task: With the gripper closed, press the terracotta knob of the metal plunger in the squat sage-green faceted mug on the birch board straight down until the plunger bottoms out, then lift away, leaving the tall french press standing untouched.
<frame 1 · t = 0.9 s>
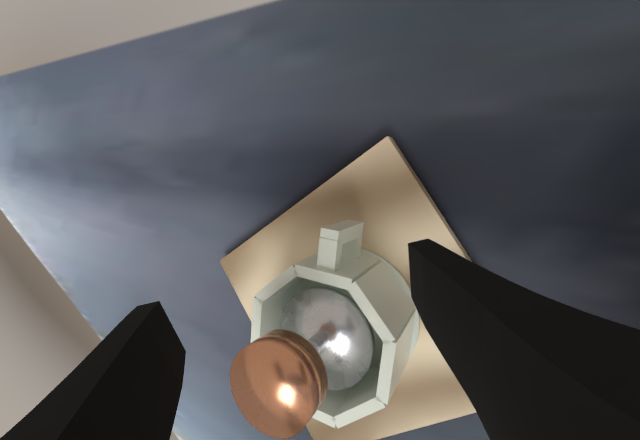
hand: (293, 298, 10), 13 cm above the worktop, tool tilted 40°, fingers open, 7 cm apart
faceted mug: (350, 312, 22), resting on serving board
serving board: (356, 307, 23), on the worktop
plunger: (301, 359, 17), point 7 cm above the worktop, slide at 0.0 cm
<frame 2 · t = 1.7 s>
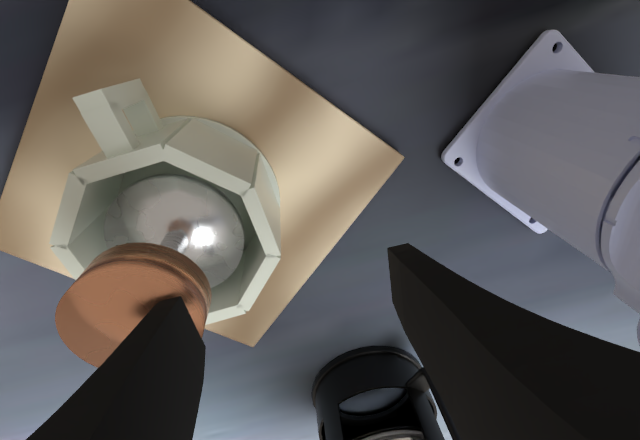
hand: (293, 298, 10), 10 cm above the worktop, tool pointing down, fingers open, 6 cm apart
faceted mug: (196, 200, 18), resting on serving board
serving board: (200, 193, 19), on the worktop
french press: (371, 380, 28), on the worktop
plunger: (160, 272, 13), point 7 cm above the worktop, slide at 0.0 cm
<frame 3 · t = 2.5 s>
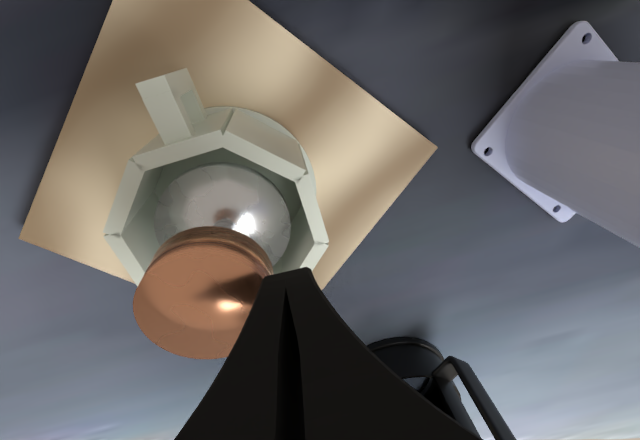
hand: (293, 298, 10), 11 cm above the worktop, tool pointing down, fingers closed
faceted mug: (233, 191, 18), resting on serving board
serving board: (234, 184, 19), on the worktop
french press: (393, 372, 29), on the worktop
plunger: (218, 258, 13), point 7 cm above the worktop, slide at 0.0 cm
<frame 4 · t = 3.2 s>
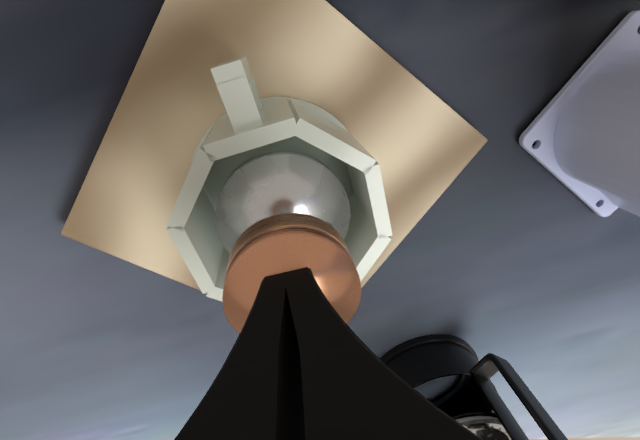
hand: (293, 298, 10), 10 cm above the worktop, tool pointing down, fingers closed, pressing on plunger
faceted mug: (280, 185, 18), resting on serving board
serving board: (279, 178, 19), on the worktop
french press: (424, 370, 28), on the worktop
plunger: (287, 248, 12), point 7 cm above the worktop, slide at 0.2 cm, touching gripper
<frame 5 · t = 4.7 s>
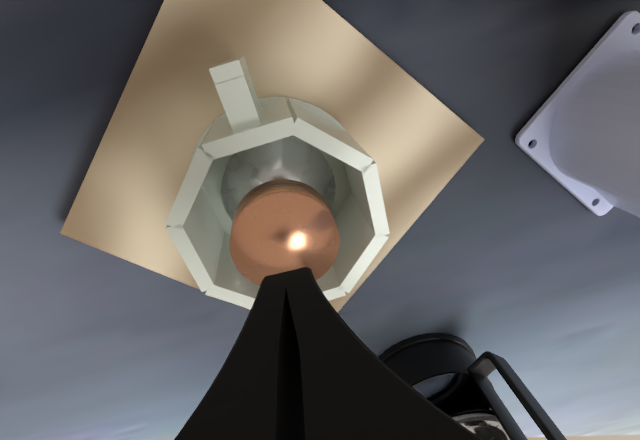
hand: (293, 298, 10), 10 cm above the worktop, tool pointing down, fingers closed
faceted mug: (278, 184, 18), resting on serving board
serving board: (278, 178, 19), on the worktop
french press: (422, 368, 28), on the worktop
plunger: (282, 212, 15), point 4 cm above the worktop, slide at 3.0 cm
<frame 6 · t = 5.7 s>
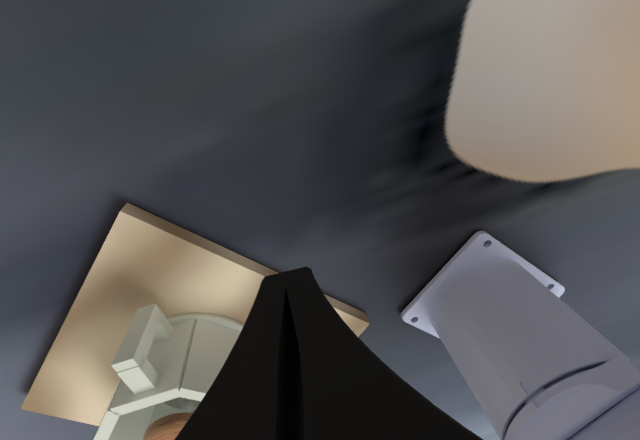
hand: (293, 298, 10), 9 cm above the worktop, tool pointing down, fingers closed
faceted mug: (199, 365, 22), resting on serving board
serving board: (201, 352, 23), on the worktop
plunger: (189, 415, 19), point 4 cm above the worktop, slide at 3.0 cm
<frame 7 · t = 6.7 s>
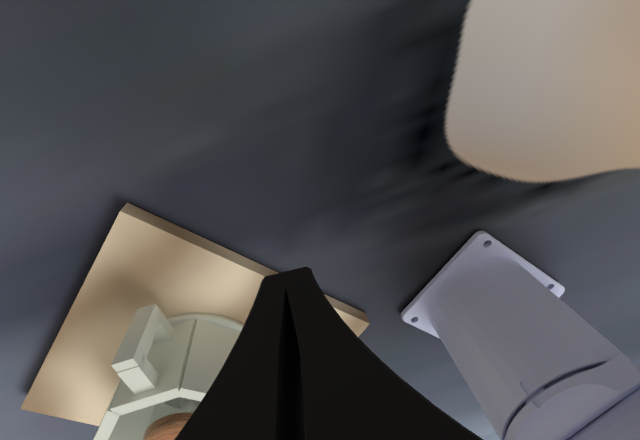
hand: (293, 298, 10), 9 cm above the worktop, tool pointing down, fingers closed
faceted mug: (199, 365, 22), resting on serving board
serving board: (201, 352, 23), on the worktop
plunger: (189, 415, 19), point 4 cm above the worktop, slide at 3.0 cm
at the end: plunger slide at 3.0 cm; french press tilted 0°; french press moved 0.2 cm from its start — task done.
